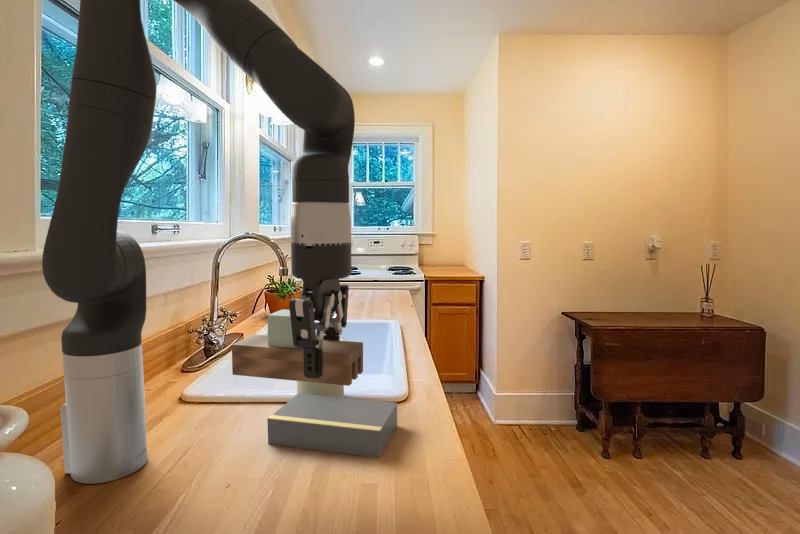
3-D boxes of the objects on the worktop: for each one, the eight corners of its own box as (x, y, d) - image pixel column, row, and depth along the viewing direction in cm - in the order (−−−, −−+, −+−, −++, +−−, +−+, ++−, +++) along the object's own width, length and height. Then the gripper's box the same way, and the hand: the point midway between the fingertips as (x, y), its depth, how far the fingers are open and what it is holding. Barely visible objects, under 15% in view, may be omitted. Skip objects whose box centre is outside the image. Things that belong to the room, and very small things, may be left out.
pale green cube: (268, 345, 61) (267, 315, 60) (282, 338, 65) (282, 309, 64) (296, 348, 60) (296, 316, 59) (309, 340, 64) (309, 310, 63)
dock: (268, 443, 74) (267, 417, 73) (298, 415, 84) (298, 392, 84) (379, 457, 69) (379, 430, 69) (397, 425, 80) (397, 402, 80)
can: (285, 403, 89) (284, 341, 88) (316, 388, 97) (315, 331, 96) (325, 413, 85) (324, 348, 84) (353, 396, 93) (353, 336, 92)
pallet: (232, 374, 61) (231, 344, 61) (254, 362, 67) (254, 334, 66) (349, 385, 58) (349, 353, 57) (363, 371, 63) (363, 342, 63)
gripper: (316, 236, 68) (317, 352, 69) (265, 241, 54) (268, 386, 55) (366, 237, 66) (366, 356, 68) (327, 243, 52) (329, 392, 54)
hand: (322, 369), depth 61 cm, fingers closed on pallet, 5 cm apart
